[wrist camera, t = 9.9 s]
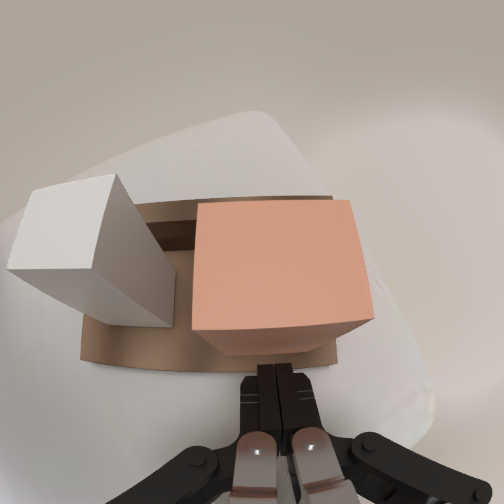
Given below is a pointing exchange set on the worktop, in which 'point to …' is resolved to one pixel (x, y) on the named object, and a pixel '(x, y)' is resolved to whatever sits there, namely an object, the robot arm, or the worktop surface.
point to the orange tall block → (277, 275)
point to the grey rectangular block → (94, 253)
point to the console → (182, 309)
